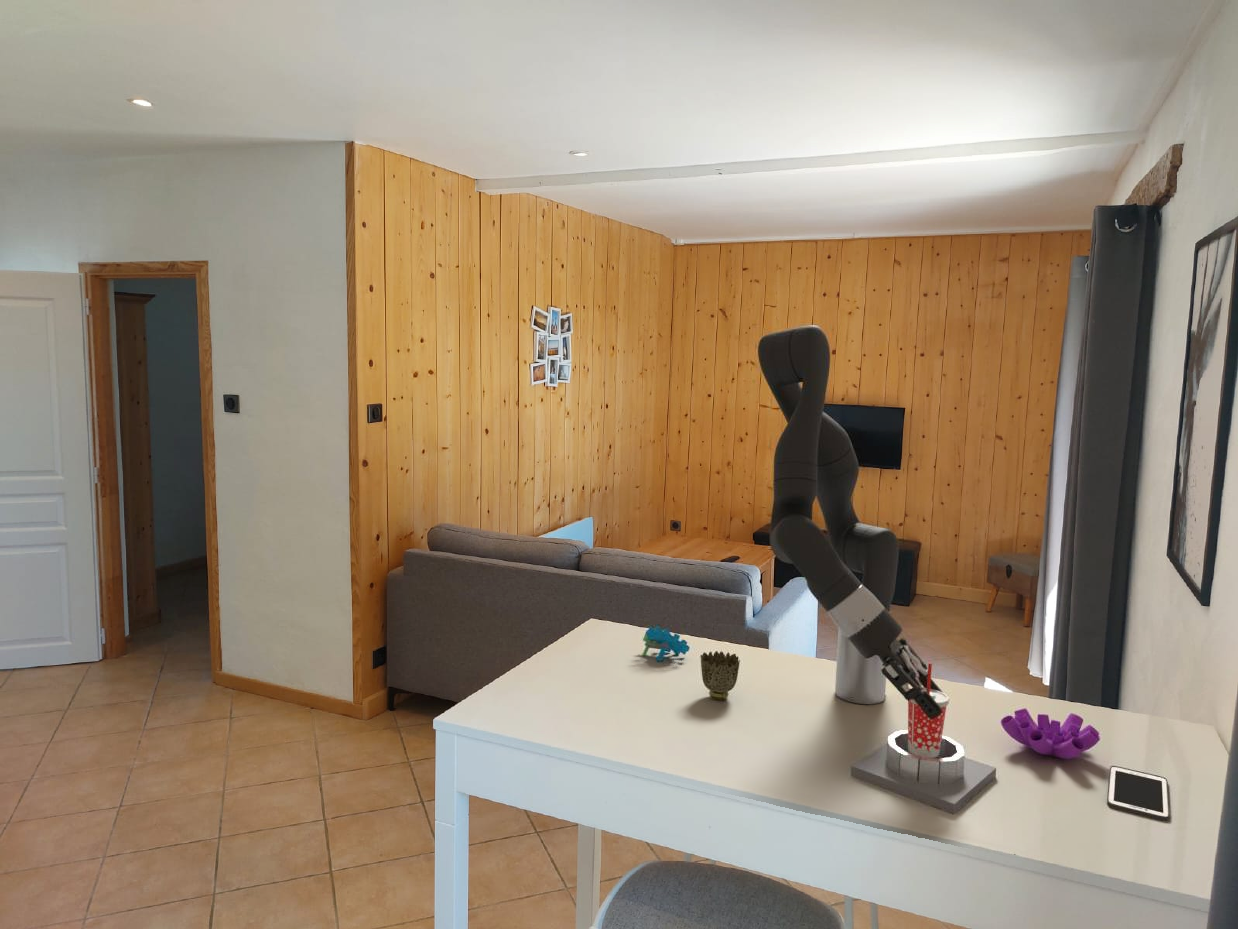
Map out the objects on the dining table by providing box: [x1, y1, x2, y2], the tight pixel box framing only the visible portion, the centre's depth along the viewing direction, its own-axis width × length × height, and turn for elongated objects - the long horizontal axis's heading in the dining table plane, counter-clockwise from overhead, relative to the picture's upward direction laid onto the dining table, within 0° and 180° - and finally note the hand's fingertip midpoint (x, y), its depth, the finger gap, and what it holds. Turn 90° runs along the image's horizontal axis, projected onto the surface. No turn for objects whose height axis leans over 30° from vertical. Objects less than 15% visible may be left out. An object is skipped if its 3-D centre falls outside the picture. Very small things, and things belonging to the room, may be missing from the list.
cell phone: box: [1106, 765, 1171, 822], centre depth 127 cm, size 8×15×1 cm, turn 148°
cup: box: [700, 650, 741, 701], centre depth 160 cm, size 8×7×8 cm
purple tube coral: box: [1000, 707, 1101, 760], centre depth 140 cm, size 11×15×10 cm
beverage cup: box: [907, 662, 950, 758], centre depth 130 cm, size 6×6×14 cm
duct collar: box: [886, 729, 966, 785], centre depth 131 cm, size 11×11×4 cm
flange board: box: [850, 742, 997, 815], centre depth 131 cm, size 16×16×2 cm
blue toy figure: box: [641, 626, 690, 663], centre depth 182 cm, size 11×6×10 cm
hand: (938, 707), depth 129 cm, fingers closed on beverage cup, 6 cm apart
